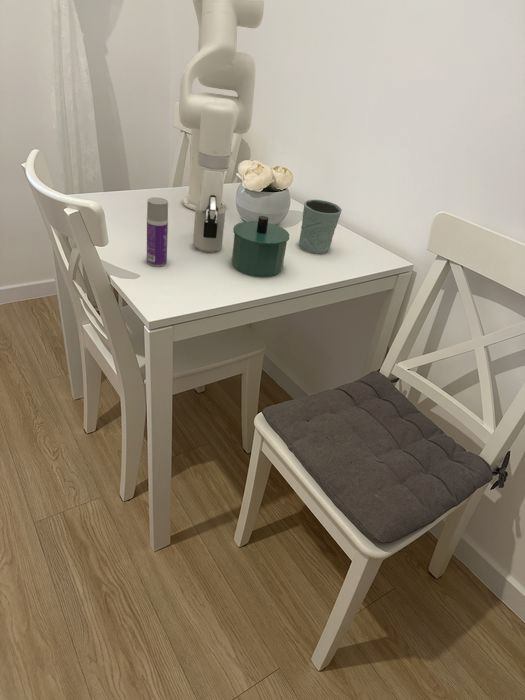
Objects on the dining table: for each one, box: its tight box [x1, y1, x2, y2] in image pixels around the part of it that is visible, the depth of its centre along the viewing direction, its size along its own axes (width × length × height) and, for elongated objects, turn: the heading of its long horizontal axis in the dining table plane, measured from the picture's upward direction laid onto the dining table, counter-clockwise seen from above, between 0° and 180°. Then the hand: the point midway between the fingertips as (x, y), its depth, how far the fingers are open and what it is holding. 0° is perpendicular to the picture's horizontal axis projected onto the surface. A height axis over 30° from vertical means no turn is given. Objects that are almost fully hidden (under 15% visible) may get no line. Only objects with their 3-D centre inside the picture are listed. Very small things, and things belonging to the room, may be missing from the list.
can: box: [192, 202, 226, 253], centre depth 129 cm, size 8×8×12 cm
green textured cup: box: [298, 199, 342, 255], centre depth 138 cm, size 10×10×12 cm
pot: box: [231, 233, 288, 278], centre depth 125 cm, size 13×13×8 cm
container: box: [146, 196, 169, 268], centre depth 117 cm, size 5×5×15 cm
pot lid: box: [232, 215, 290, 245], centre depth 122 cm, size 14×14×5 cm
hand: (208, 230), depth 129 cm, fingers open, 9 cm apart
